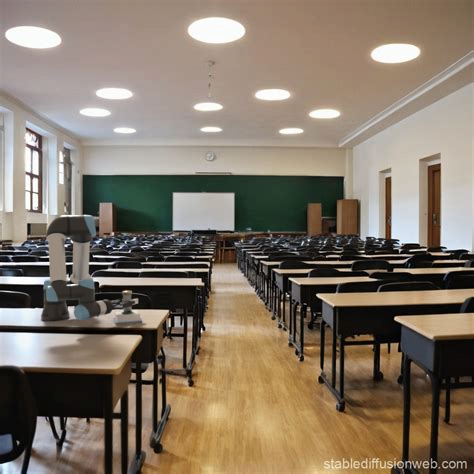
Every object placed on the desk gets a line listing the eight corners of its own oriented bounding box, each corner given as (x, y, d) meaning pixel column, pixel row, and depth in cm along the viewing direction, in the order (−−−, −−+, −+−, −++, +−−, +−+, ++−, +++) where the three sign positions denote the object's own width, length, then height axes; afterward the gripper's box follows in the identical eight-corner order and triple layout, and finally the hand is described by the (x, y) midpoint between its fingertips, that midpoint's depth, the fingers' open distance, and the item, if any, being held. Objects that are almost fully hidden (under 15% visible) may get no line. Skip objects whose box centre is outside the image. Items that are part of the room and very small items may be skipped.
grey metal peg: (122, 316, 244) (121, 290, 243) (131, 315, 245) (131, 290, 245) (123, 317, 239) (122, 292, 238) (132, 317, 240) (132, 291, 240)
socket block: (113, 319, 246) (113, 311, 246) (138, 317, 251) (138, 309, 251) (115, 324, 233) (115, 316, 233) (142, 322, 238) (142, 314, 238)
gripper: (90, 313, 231) (122, 305, 251) (114, 316, 222) (146, 308, 242) (90, 299, 230) (122, 292, 251) (114, 301, 222) (145, 295, 242)
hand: (134, 300), depth 246 cm, fingers closed on grey metal peg, 4 cm apart
